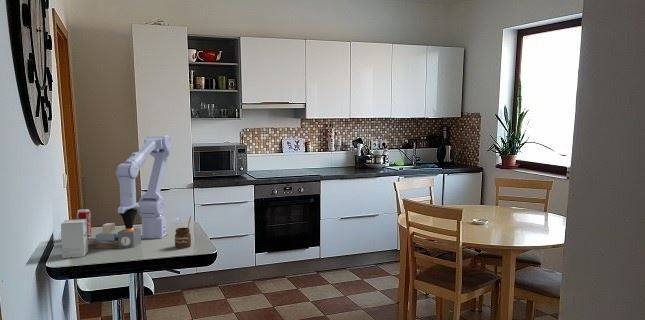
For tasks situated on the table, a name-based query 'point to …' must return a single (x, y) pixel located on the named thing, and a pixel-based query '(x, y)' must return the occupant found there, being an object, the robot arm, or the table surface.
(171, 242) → the table surface
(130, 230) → the button
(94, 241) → the rail track
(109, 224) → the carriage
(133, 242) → the cabinet
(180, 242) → the brown jar with straw
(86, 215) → the soda can
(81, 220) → the supplement box
